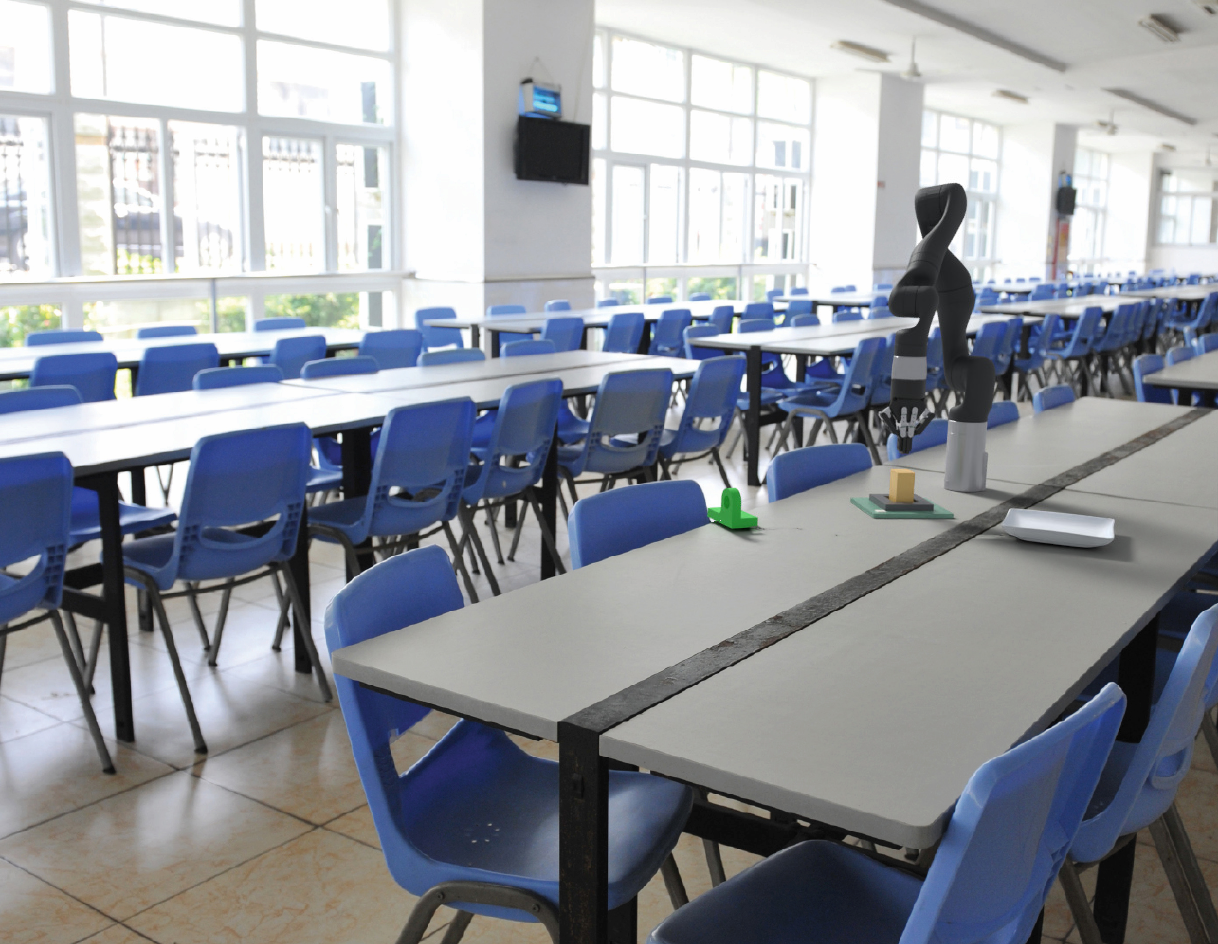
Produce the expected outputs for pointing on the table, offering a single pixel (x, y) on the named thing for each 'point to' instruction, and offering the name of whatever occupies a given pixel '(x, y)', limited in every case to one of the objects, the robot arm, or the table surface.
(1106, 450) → the table surface
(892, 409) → the robot arm
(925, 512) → the socket board
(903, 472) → the amber plug
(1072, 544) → the salad plate
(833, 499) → the table surface
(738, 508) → the mechanical part
